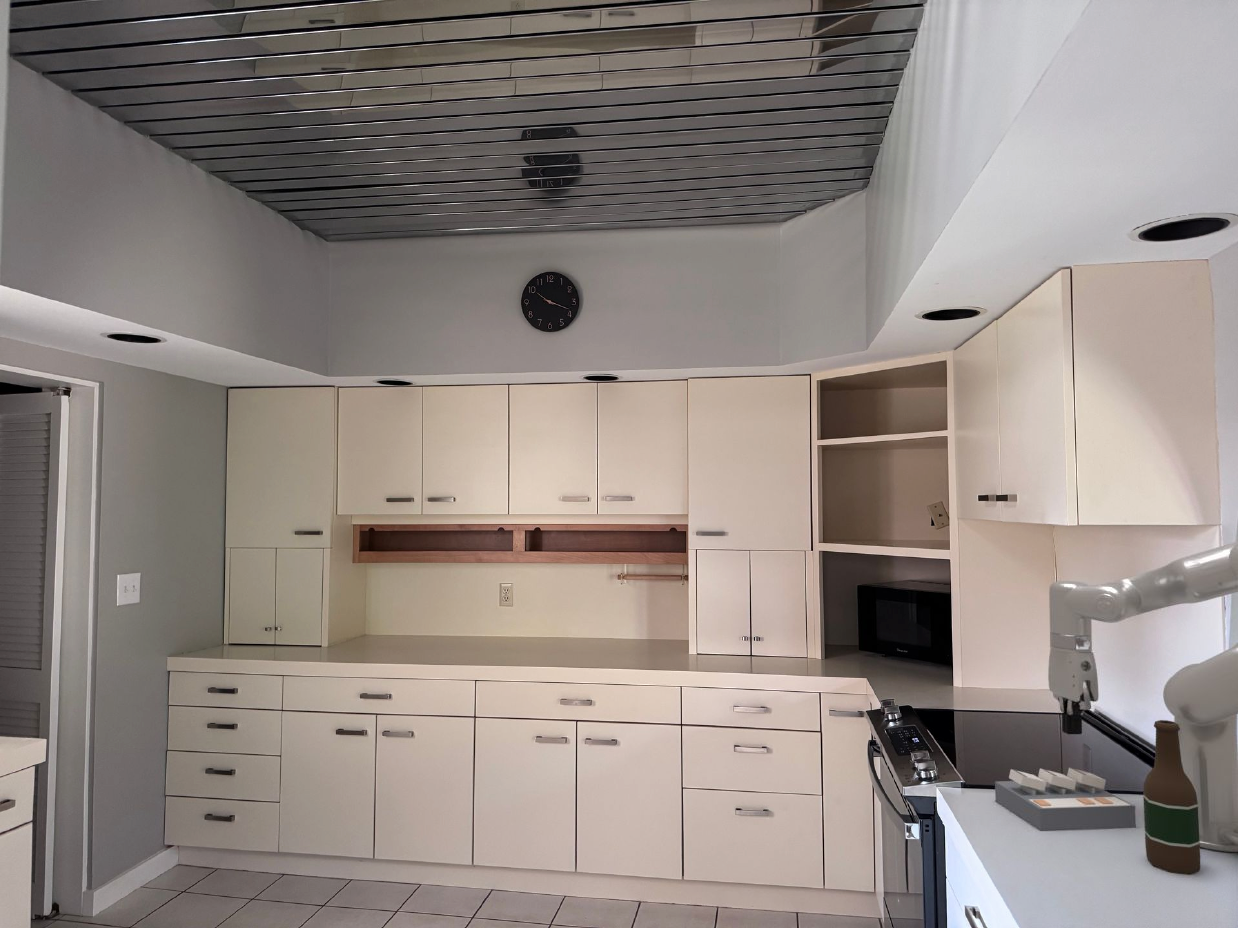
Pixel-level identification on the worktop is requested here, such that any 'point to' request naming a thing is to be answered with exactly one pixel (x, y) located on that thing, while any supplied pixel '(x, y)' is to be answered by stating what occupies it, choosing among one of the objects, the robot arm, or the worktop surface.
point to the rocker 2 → (1086, 778)
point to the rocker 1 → (1027, 780)
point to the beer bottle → (1170, 807)
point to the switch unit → (1065, 806)
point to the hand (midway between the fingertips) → (1072, 732)
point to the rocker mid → (1057, 779)
